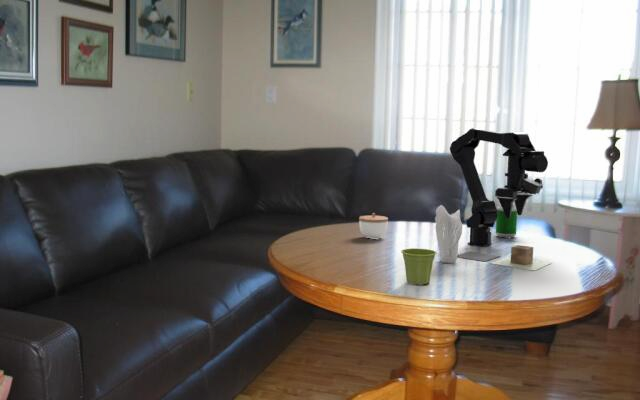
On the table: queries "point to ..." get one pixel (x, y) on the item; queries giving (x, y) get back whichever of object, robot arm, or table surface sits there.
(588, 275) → the table surface
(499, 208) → the soda can
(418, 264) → the plant pot
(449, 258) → the shell sculpture
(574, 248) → the table surface
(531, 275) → the table surface
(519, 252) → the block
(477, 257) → the mat
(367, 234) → the lidded jar
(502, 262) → the mat
